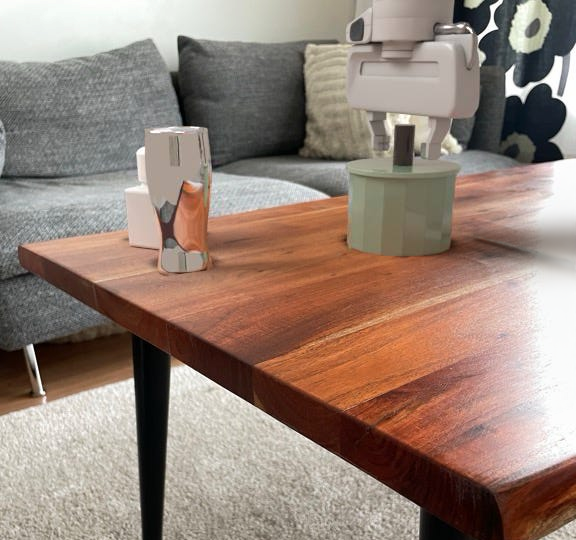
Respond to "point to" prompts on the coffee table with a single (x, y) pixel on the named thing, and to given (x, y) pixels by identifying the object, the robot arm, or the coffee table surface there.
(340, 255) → the coffee table surface
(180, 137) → the beer glass
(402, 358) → the coffee table surface
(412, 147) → the lid
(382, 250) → the tin
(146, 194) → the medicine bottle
